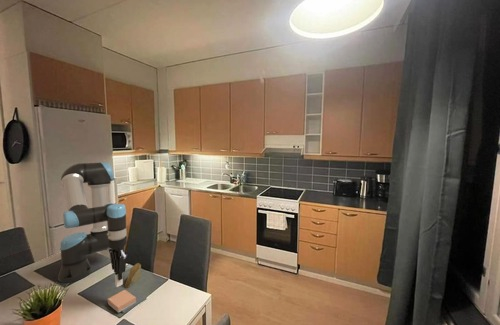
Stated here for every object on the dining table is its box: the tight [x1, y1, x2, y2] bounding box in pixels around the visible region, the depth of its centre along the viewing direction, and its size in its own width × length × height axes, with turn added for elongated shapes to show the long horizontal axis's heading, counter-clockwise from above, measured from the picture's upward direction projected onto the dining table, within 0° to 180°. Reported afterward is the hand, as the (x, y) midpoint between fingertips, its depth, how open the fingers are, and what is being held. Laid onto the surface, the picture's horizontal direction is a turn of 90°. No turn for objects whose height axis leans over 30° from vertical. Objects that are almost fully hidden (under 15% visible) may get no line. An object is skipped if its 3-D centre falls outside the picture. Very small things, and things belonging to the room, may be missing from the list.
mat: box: [120, 290, 147, 314], centre depth 105 cm, size 10×11×1 cm
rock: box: [124, 262, 142, 289], centre depth 120 cm, size 11×9×10 cm
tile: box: [107, 289, 136, 313], centre depth 103 cm, size 2×8×10 cm
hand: (119, 285), depth 104 cm, fingers closed
